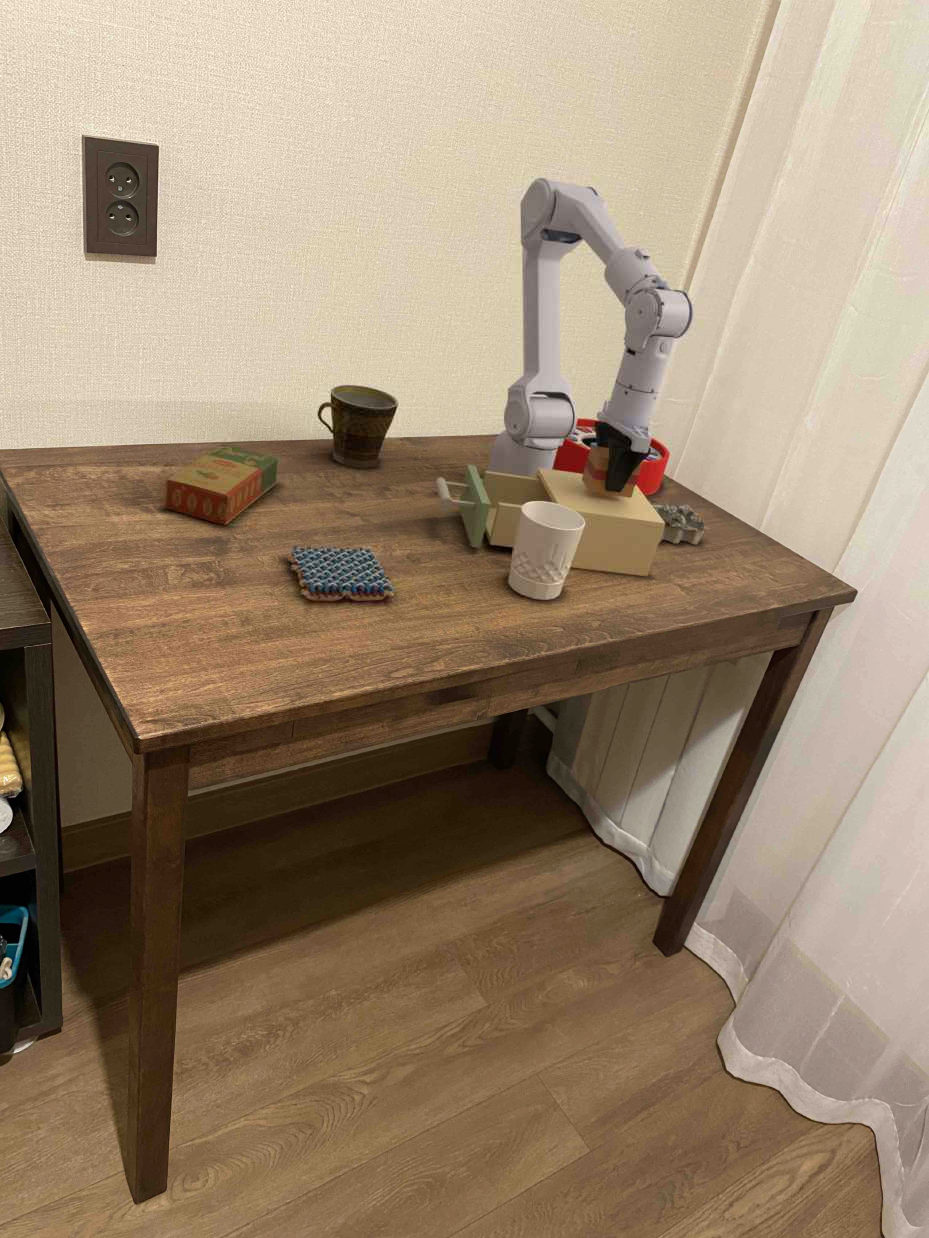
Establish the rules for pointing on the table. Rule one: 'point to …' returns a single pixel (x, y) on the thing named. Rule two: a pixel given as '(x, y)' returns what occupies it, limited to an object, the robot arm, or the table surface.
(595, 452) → the packet
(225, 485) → the carton
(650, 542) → the shallow tan box
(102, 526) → the table surface
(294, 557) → the woven mat
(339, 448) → the ceramic cup
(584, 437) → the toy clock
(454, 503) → the drawer
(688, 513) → the egg carton
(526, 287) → the robot arm
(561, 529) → the white cup
